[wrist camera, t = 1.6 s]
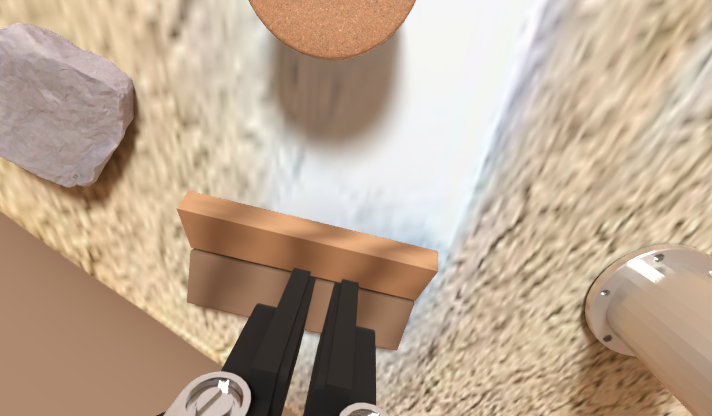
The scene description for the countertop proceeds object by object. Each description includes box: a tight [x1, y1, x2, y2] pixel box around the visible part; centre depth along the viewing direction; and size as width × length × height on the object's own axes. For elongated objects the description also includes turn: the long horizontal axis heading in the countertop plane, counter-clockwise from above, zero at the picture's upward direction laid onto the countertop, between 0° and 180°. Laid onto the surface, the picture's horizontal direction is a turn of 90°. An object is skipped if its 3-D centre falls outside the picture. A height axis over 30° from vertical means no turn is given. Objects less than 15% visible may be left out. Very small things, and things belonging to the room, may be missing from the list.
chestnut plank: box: [177, 191, 438, 300], centre depth 31 cm, size 22×6×2 cm, turn 76°
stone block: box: [0, 23, 134, 187], centre depth 29 cm, size 12×5×10 cm
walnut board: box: [187, 248, 414, 350], centre depth 34 cm, size 22×6×2 cm, turn 76°
